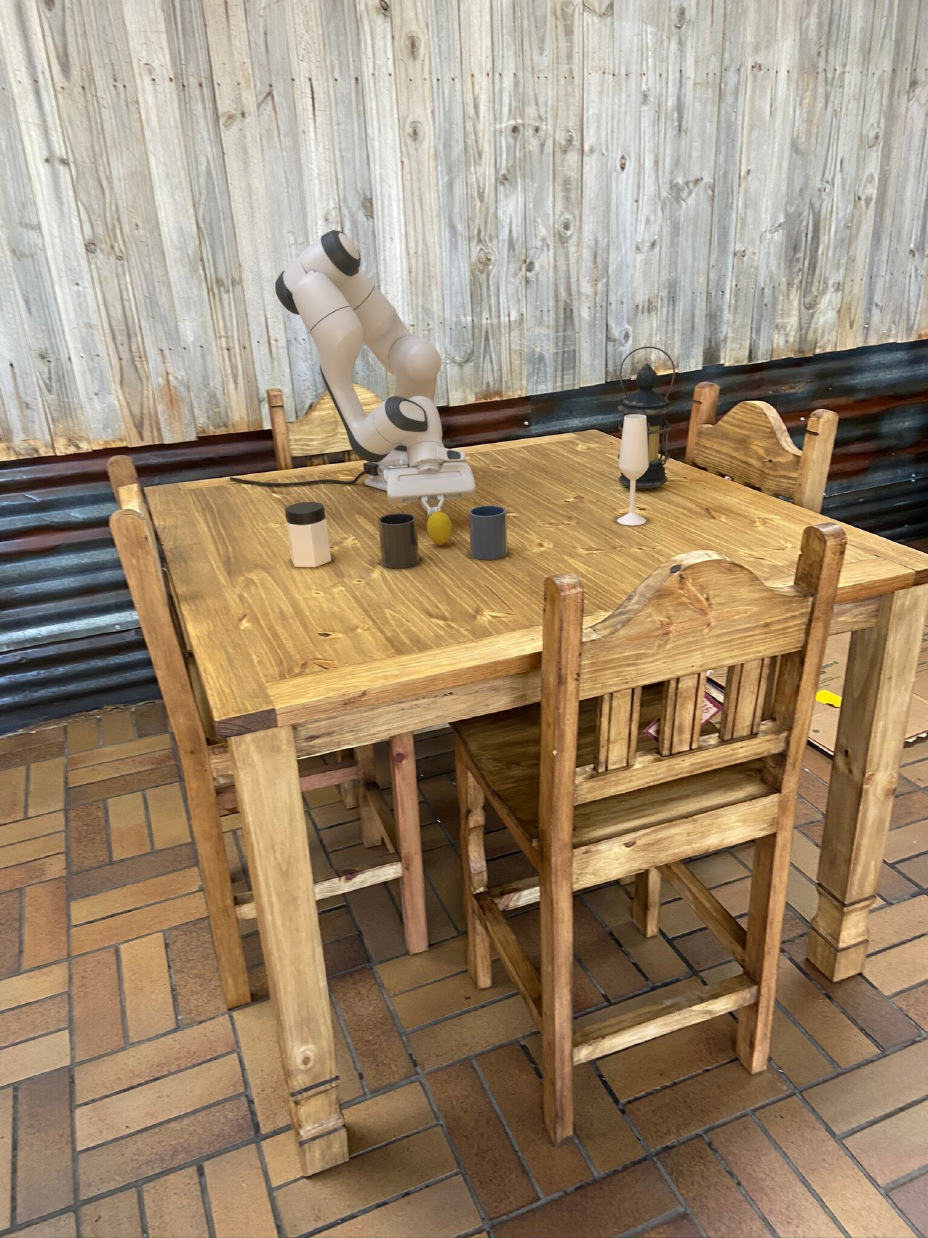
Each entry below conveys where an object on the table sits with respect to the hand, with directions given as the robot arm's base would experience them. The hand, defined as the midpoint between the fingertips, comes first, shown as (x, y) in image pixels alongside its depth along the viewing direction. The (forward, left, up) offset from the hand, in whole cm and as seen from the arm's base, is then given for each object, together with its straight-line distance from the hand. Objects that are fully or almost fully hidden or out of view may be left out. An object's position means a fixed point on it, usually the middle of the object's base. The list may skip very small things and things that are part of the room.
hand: (434, 516), depth 199 cm
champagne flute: (+33, +31, -5) cm, 46 cm away
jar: (-14, -26, -5) cm, 30 cm away
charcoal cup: (+3, -16, -5) cm, 17 cm away
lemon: (+4, -4, -5) cm, 8 cm away
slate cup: (+17, -3, -5) cm, 18 cm away
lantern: (+23, +57, -5) cm, 62 cm away
